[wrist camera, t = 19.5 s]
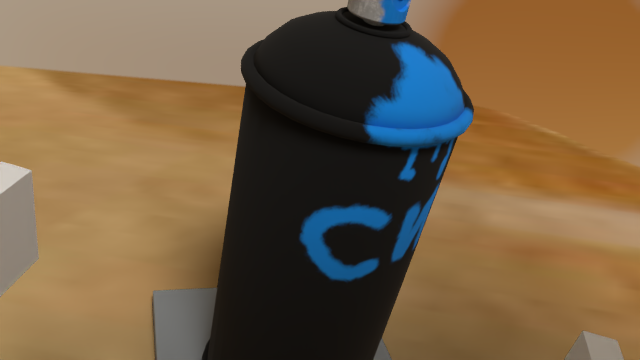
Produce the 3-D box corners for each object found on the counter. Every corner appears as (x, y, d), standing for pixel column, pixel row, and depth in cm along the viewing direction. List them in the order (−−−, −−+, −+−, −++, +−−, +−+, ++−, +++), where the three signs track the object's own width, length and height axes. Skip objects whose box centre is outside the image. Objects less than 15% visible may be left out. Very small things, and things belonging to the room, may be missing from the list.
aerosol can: (166, 356, 27) (202, -88, 17) (289, 288, 33) (374, -77, 22) (277, 488, 23) (421, 5, 12) (397, 385, 29) (566, -10, 18)
